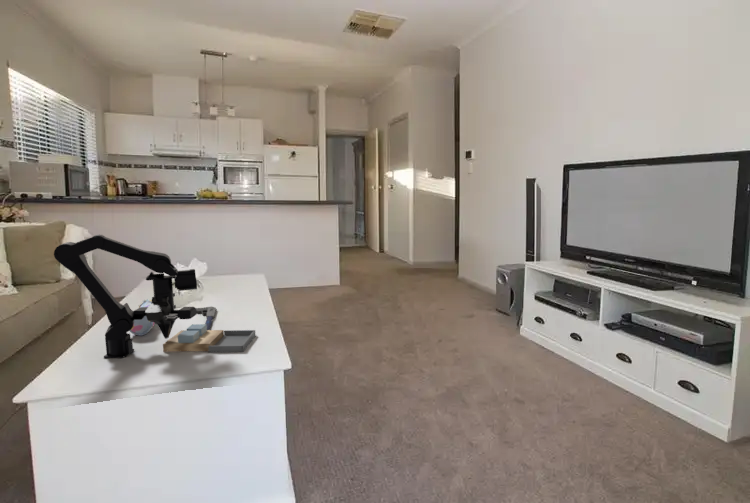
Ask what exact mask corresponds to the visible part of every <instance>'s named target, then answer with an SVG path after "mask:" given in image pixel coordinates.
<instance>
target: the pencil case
mask: <svg viewBox="0 0 750 503" xmlns="http://www.w3.org/2000/svg"><path fill="white" fill-rule="evenodd" d="M151 303H152V299H148V298H147V299H146V300H145V299H144V300H142V302H141V303H140V304H138V308H140V307H149V305H151ZM155 324H156V323H154V322H151V321H148V320H147V317H146V316H144V318H143V319H142V320H135V321H134V324H133V327H132V329H131V330H130V331H129V333H130V334H133V335H135V336H144V335H147V333H149V332H150V331H151V330H152V328H153V327H154V326H155Z"/></svg>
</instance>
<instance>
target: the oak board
mask: <svg viewBox="0 0 750 503" xmlns="http://www.w3.org/2000/svg"><path fill="white" fill-rule="evenodd" d="M183 331H187V329H185V330H183V329H182V330H181V329H180V330H179V331H178V332H177V333H176V334H175V335H173V336H172V337H170V338H169V339H168V340H166V341H165V342H164V343H162V349H163V352H165V353H167V352H208V351H209V347H208V346H214V345H215V344H216V343H217V342H218V341H219V340H220V339H221V338H222V337H223V336H224V331H225V329H212V330H211V329H210V330H207V332H205V333H204V334H203V335H202V336H199V339H197V340H196V341H195V342H194V343H178V335H179V334H180V333H182V332H183Z"/></svg>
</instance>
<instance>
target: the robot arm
mask: <svg viewBox="0 0 750 503" xmlns="http://www.w3.org/2000/svg"><path fill="white" fill-rule="evenodd" d="M97 249H99V250H102V251H104V252H108V253H110V254H113V255H116V256H120V257H123V258H126V259H128V260H131V261H134V262H137V263H138V264H140V265H143V266H144V267H146V268H148V269H150V270H151V271H150V273H149V274H148V275H147V276H146V277H145V280H146V281H152V290H153V296H152V297H151V300H152V303H151V305H149V307H140V308H139V307H138V308H137V309H135V310H133V309H131V307H130V306H129V303H127V302H125V303H124V304H121V303H120V302H119V301H117V299H116V298H115V297H114V296H113V294H112V293H111V291H110V290H109V289H108V288H107V287H106V286H105V284H104V283H103V282H102V280H101V279H100V278H99V276H97V274H96V273H95V272H94V270H93V269H92V268H91V267H90V266H89V263H88V261H87V257H86V256H85V254H87V253H89V252H92V251H94V250H97ZM53 257H54V259H55V260H56V261H57V262H58V263H59V264H60V265H62V266H63V267H64V268H66V269H67V270H69V271H70V272H71V273H73V274H75V276H76V277H77V278H78V279H79V281H80V282H81V283H82V284H83V285H84V287H85V288H86V290H88V291H89V293H90V294H91V295H92V296H93V297H94V299H95V301H96V302H98V303H99V305H100V307H101V308H102V309H103V310H104V312H105V314H106V316H107V319H108V322H109V324H110V325H109V326H108V327H107V329H106V332H105V334H104V336H105V337H104V339H105V340H104V341H105V351H106V354H105V355H103V358H105V359H106V358H108V359H109V358H111V359H113V358H125V357H127V356H128V355H130V354H131V353H133V352H134V351H135V348H134V345H133V339H132V337H131V333H128V332H130V330H131V329H132V327H133V324H134V321H135V320H142V319H143V318H144V316H146V317H147V320H148V321H151V322H154V323H155V324H156V325H157V327H158V328H159V330H160V332H161V334H162V336H163V338H164V339H168V338H169V337H170V335H171V332H172V329H173V326H174V324H175V322H176V320H177V319H179V320H191V319H192V318H194V317H195V316H197V315H198V314H197V311H196V308H197V307H195V306H182V307H181V308H179V309H176V308H177V306H176V304H175V303H174V302H175V300H174V297H175V296H176V293H174V289H173V288H175V289H177V290H178V291H180V292H181V291H182V292H183V291H192V290H193V291H194V290H198V284H197V277H196V275H197V274H196V269H195V268H191V269H185V270H183V269H182V270H178V268H177V267H175V266H174V265H173V264H172V260H171V257H170V256H169V255H168V254H167V253H163V252H160V251H159V252H158V251H157V252H156V251H150V250H144V249H140V248H138V247H135V246H133V245H129V244H127V243H124V242H120V241H118V240H115V239H112V238H109V237H106V236H105V235H103V234H95V235H94V236H92V237H89V238H86V239H82V240H80V241H77V242H72V241H68V242H67V241H66V242H64V243H61V244H59V245H58V246H56V247H55V249H54V252H53ZM154 272H155V273H154ZM165 274H166V275H165ZM173 279H174V285H173ZM173 286H174V287H173ZM169 339H170V338H169Z"/></svg>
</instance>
